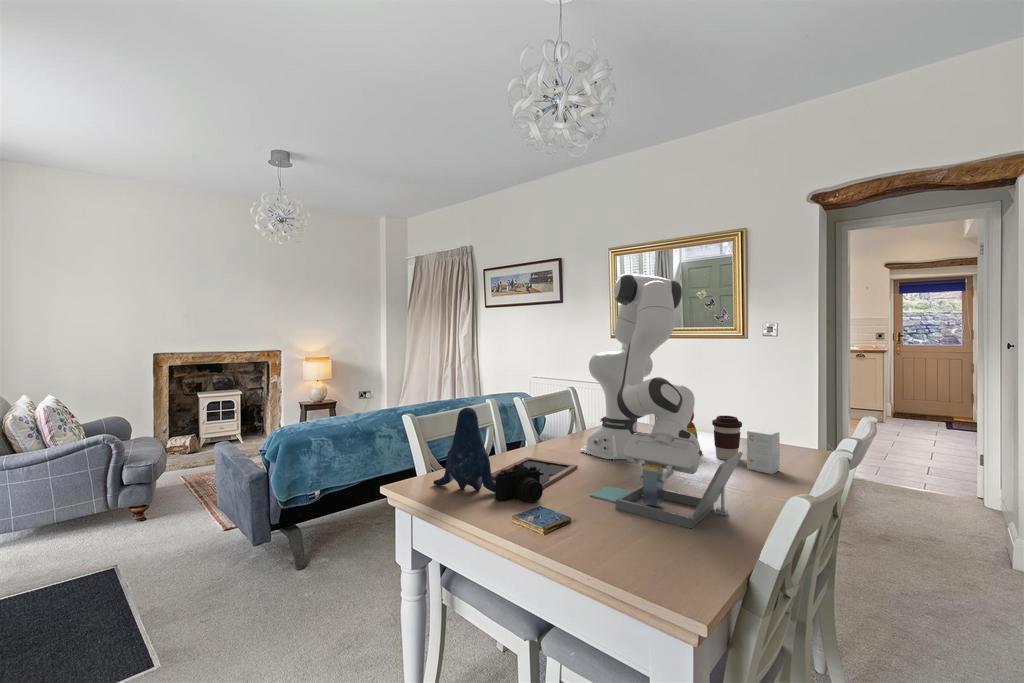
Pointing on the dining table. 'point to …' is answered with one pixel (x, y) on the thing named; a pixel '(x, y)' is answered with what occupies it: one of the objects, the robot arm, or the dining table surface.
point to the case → (684, 499)
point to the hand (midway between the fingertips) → (651, 479)
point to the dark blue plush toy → (468, 455)
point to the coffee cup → (726, 436)
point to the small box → (763, 451)
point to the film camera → (518, 484)
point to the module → (652, 484)
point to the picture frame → (543, 469)
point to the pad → (609, 493)
